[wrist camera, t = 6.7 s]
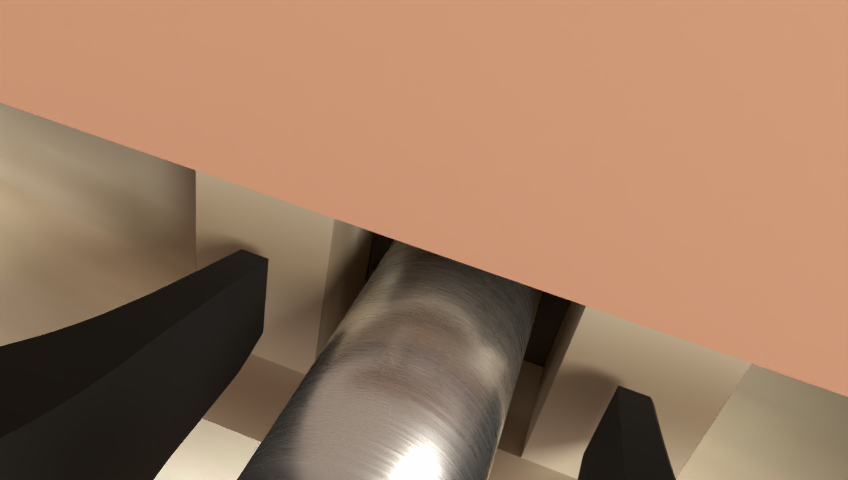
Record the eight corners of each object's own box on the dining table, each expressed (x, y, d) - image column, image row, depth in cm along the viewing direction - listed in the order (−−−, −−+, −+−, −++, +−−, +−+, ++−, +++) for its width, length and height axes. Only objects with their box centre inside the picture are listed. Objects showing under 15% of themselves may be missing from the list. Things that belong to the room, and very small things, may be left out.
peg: (529, 337, 17) (436, 656, 11) (393, 294, 18) (230, 572, 12) (564, 217, 15) (476, 522, 9) (410, 173, 16) (224, 428, 10)
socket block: (618, 482, 19) (608, 582, 17) (253, 342, 21) (196, 415, 18) (827, 119, 13) (861, 195, 10) (278, -41, 14) (194, -8, 12)
